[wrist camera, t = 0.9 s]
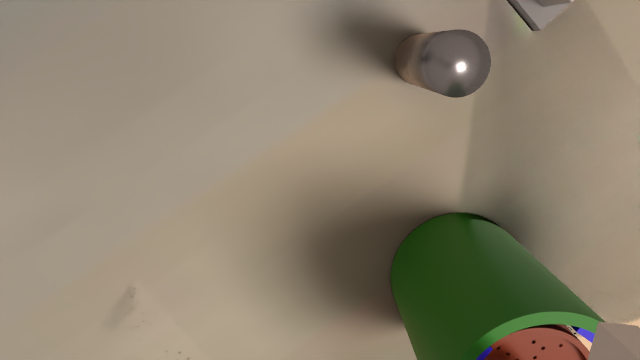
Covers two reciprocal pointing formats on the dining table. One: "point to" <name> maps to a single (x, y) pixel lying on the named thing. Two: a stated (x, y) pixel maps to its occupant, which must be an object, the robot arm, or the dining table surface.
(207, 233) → the dining table surface
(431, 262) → the motor
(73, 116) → the dining table surface
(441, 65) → the rounded metal cylinder
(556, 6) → the stand
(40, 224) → the dining table surface
